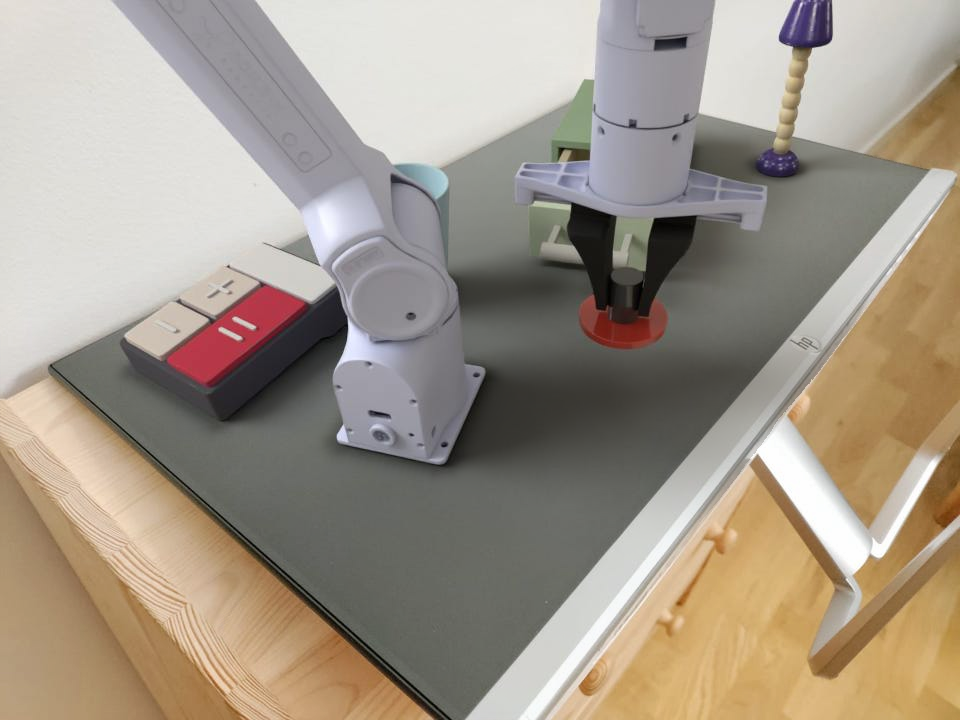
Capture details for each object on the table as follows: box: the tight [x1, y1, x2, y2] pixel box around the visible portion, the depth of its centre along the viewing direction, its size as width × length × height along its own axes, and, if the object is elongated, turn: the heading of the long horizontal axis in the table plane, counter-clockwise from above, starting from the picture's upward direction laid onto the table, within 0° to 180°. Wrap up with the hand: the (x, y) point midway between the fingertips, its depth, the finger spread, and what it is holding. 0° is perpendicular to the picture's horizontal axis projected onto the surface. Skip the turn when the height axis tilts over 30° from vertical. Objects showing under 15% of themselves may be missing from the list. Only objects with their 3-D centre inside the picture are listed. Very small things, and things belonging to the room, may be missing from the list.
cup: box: [392, 162, 451, 272], centre depth 58 cm, size 8×8×10 cm
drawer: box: [527, 148, 654, 273], centre depth 63 cm, size 19×11×5 cm, turn 162°
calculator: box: [118, 242, 348, 422], centre depth 56 cm, size 11×4×15 cm
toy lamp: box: [755, 0, 834, 177], centre depth 69 cm, size 5×5×17 cm
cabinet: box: [550, 78, 594, 163], centre depth 73 cm, size 15×12×7 cm
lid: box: [578, 267, 669, 350], centre depth 48 cm, size 6×6×4 cm
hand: (624, 304), depth 48 cm, fingers closed on lid, 2 cm apart
